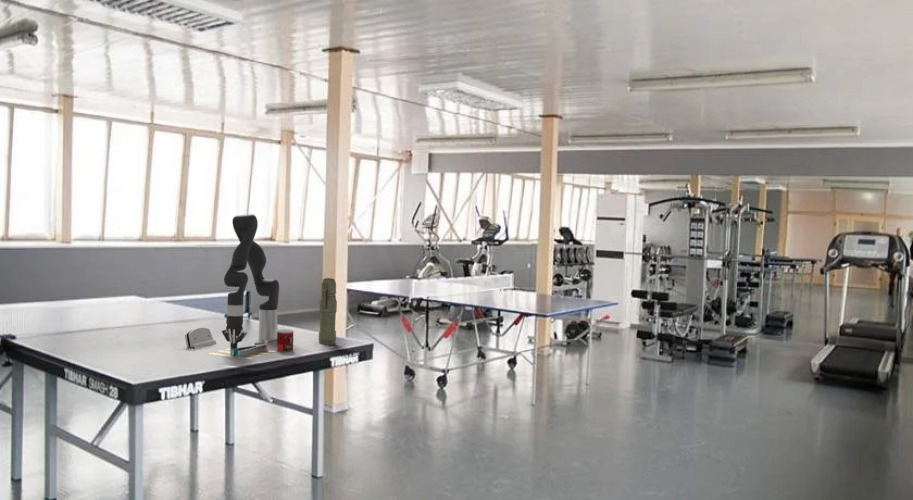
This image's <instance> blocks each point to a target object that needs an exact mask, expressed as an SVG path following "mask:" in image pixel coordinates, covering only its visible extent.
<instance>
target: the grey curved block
mask: <svg viewBox="0 0 913 500" xmlns="http://www.w3.org/2000/svg"><path fill="white" fill-rule="evenodd" d="M184 338H185V345H186V348H187V349H190V348H193V347H194V348H193V349H194V350H195V349H200V348H205V347H208V346H212V345H217V341H216V339H214V337H213V335H212V332H211V330H210V328H207V327H197V328H194V329H191V330H189V331H187V333H185V334H184Z"/></svg>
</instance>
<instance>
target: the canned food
mask: <svg viewBox="0 0 913 500" xmlns="http://www.w3.org/2000/svg"><path fill="white" fill-rule="evenodd" d="M293 351H294V330H293V329H278V330H277V339H276V352H280V353H290V352H293Z"/></svg>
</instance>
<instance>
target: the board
mask: <svg viewBox="0 0 913 500" xmlns="http://www.w3.org/2000/svg"><path fill="white" fill-rule="evenodd" d="M238 347H239V346H237V348H238ZM275 352H277V350H269V349H268V351H265V352H261V353H258V354H254V355H251V356H247V357H243V358H241V357H238V355H235V356H232V355H230V347H228V348H224V349H220V350H216V351H213V352H209V353H207V355H211V356H212V355H214V356H220V357H230V358H231V357H232V358H239V359H247V360H251V359H254V358H258V357H261V356H265V355H268V354H272V353H275Z"/></svg>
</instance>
